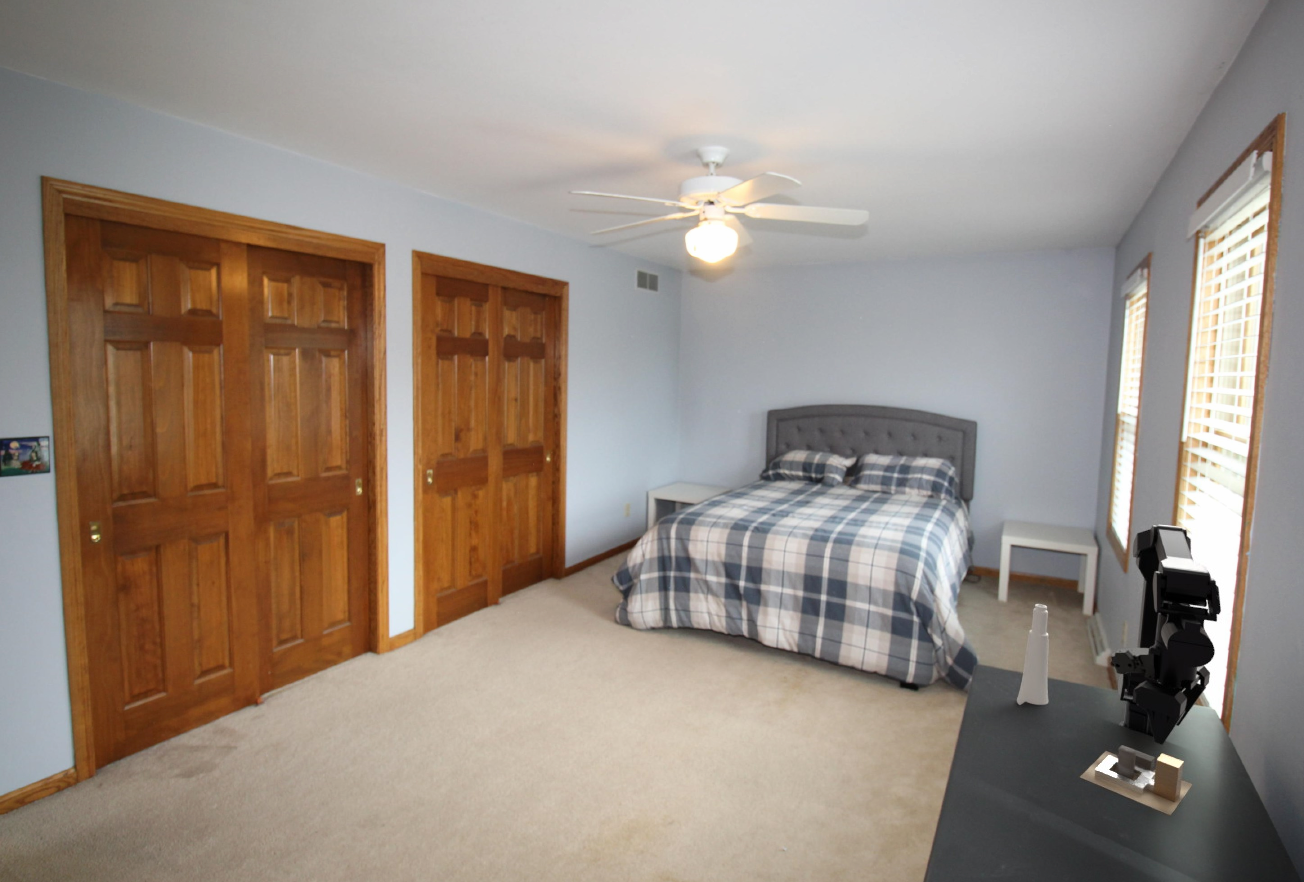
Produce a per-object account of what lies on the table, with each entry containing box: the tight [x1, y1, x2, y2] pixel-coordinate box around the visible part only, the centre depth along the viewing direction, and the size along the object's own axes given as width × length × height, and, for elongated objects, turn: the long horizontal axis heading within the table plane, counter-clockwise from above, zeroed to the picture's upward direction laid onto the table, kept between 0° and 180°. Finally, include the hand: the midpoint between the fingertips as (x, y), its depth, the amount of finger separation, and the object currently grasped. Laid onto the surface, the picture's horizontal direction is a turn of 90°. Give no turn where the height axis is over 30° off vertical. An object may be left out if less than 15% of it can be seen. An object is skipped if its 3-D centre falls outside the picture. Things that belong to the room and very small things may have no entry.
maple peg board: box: [1079, 744, 1193, 816], centre depth 119 cm, size 13×13×6 cm
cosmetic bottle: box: [1016, 603, 1050, 706], centre depth 148 cm, size 6×6×22 cm
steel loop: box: [1095, 753, 1185, 802], centre depth 119 cm, size 7×11×6 cm, turn 40°
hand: (1167, 733), depth 115 cm, fingers open, 9 cm apart
